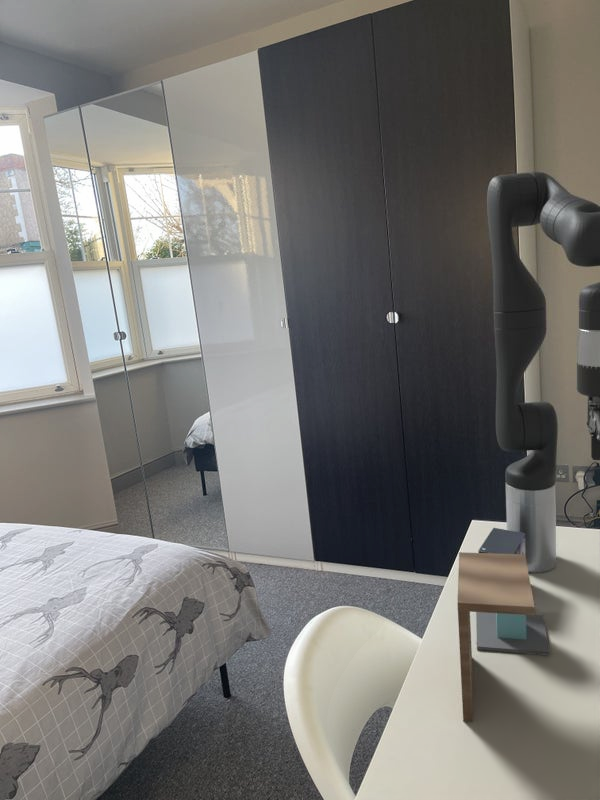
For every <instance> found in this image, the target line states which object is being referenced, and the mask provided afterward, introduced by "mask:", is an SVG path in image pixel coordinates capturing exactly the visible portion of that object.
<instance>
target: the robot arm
mask: <svg viewBox="0 0 600 800" xmlns="http://www.w3.org/2000/svg"><path fill="white" fill-rule="evenodd" d="M486 194H487V195H486V212H487V213H486V214H487V223H488V231H489V240H490V241H489V242H490V250H491V262H492V263H491V264H492V275H493V276H492V277H493V281H492V282H493V331H494V342H495V343H494V344H495V346H494V347H495V358H496V359H495V360H496V362H495V363H496V392H495V393H496V394H495V398H496V399H495V433H496V434H495V435H496V441H497V443H498V446H499V448H500V449H501V450H502V451H504V452H526V451H531V452H530V453H529V454H528V455H527V456H525V457H523V458H522V459H519V460H517V461H515V462H513V463H510V464H509V465H508V466H507V467H506V469H505V473H504V476H505V478H504V480H505V509H506V530H509V531H516V532H522V533H525V556H526V562H527V568H528V573H543V572H545V573H546V572H548V571H549V572H550V571H551V570H552V569H554V568H555V567H556V566H557V526H556V524H557V514H556V513H557V512H556V509H557V508H556V503H557V502H556V499H557V497H556V474H557V452H558V435H559V434H558V432H559V425H558V416H557V415H558V414H557V411H556V409H555V407H554V406H553V404H552V403H550V402H548V401H534V402H521V403H520V402H519V403H517V396H518V395H517V394H518V390H519V387H520V384H521V381H522V379H523V376H524V374H525V373H526V371H527V369H528V368H529V366H530V364H531V363H532V361H533V359H534V358H535V357H536V355H537V354H538V351H539V350H540V348H541V346H542V344H543V342H544V340H545V338H546V336H547V300H546V297H545V294H544V291H543V290H542V288H541V287H540V285H539V283H538V282H537V280H536V279H535V278H534V276H533V274H531V272H530V270H528V268H527V266H526V265H525V264H524V262H523V261H522V259H521V257H520V256H519V255H520V254H519V253H518V251H517V248H516V245H515V240H514V235H513V228H520V227H529V226H530V227H531V226H535V225H539V224H540V228H541V229H542V232H543V233H544V235H546V237H548V238H549V239H550V240H551V241H553V242H554V243H556V244H558V245H560V246H561V248H562V249H563V251H564V253H565V256H566V259H567V261H568V262H570V263H571V264H572V265H575V266H577V267H582V268H583V267H584V268H591V267H592V268H593V267H600V205H598V204H597V203H595V202H593V201H590V200H588V199H585V198H582V197H579V196H577V195H575V194H572V193H571V192H569V191H568V190H567V189H566V188H565V187H564V186H563V185H561V184H560V183H559V182H558V180H556V179H555V178H554V177H552V176H551V175H550V174H549V173H545V172H544V171H543V172H542V171H528V172H517V173H508V174H501V175H500V174H499V175H497V176H494V177H492V179H491V180H490V182H489V184H488V188H487V193H486ZM578 295H579V296H578V333H577V334H578V336H577V341H576V342H577V343H576V391H577V392H578V393H579V394H581V395H583V396H586V397H587V421H586V426H587V428H589V429H588V433H589V435H590V454H591V455H590V458H591V459H592V460H593V461H600V281H599V282H596V283H593V284H589V285H587V286H585V287H583V288H582V289H581V290H580V292H579V294H578Z"/></svg>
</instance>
